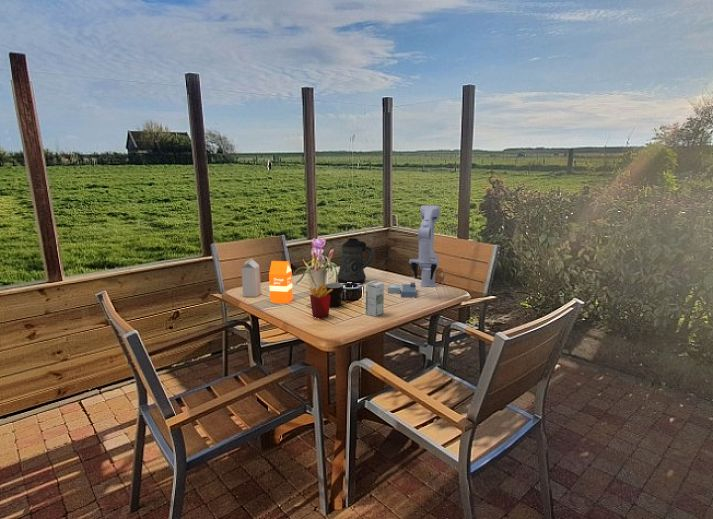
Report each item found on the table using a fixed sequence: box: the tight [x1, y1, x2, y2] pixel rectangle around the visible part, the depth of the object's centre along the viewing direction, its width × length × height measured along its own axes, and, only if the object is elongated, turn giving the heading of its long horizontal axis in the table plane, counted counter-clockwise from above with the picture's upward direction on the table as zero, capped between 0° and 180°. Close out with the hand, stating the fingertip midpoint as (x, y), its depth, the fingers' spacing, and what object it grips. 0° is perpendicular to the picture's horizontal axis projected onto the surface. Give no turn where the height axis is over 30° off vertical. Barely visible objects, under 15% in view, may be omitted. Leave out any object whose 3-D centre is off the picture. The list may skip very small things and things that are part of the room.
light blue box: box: [387, 284, 401, 294], centre depth 221 cm, size 6×6×3 cm
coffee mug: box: [325, 282, 344, 309], centre depth 200 cm, size 12×9×10 cm
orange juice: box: [268, 260, 294, 304], centre depth 206 cm, size 8×9×20 cm
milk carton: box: [240, 257, 262, 298], centre depth 216 cm, size 7×7×19 cm
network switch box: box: [400, 282, 417, 298], centre depth 218 cm, size 14×8×4 cm, turn 173°
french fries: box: [309, 283, 333, 320], centre depth 183 cm, size 9×8×15 cm
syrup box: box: [365, 280, 385, 317], centre depth 186 cm, size 6×6×14 cm
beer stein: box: [336, 237, 374, 285], centre depth 241 cm, size 16×19×25 cm
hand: (423, 278), depth 210 cm, fingers open, 7 cm apart
